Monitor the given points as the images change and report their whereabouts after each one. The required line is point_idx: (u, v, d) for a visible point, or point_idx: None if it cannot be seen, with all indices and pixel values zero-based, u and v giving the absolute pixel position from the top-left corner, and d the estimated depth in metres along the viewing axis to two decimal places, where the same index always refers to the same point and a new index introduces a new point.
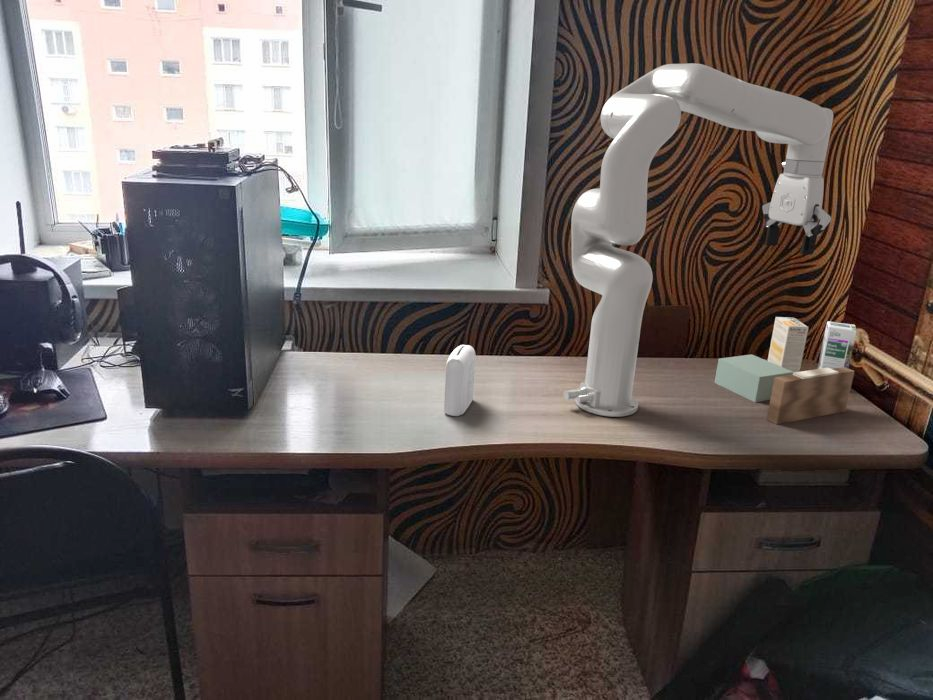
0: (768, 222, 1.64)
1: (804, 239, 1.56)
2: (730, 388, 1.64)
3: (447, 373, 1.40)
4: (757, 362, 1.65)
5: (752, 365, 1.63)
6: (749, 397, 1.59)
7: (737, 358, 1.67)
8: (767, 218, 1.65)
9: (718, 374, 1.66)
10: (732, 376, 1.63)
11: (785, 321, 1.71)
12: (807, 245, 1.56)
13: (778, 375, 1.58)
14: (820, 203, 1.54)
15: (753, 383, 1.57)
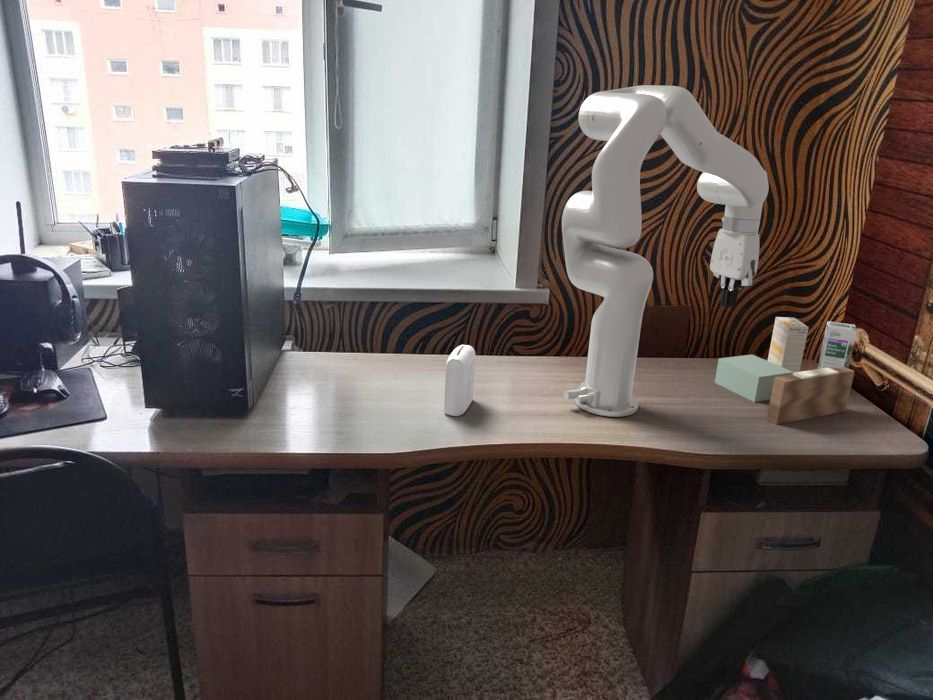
0: (721, 283, 1.68)
1: (726, 293, 1.67)
2: (730, 388, 1.64)
3: (447, 373, 1.40)
4: (757, 362, 1.65)
5: (752, 365, 1.63)
6: (749, 397, 1.59)
7: (738, 358, 1.67)
8: None
9: (718, 374, 1.66)
10: (732, 376, 1.63)
11: (785, 321, 1.71)
12: (729, 298, 1.67)
13: (778, 375, 1.58)
14: (757, 259, 1.62)
15: (753, 383, 1.57)
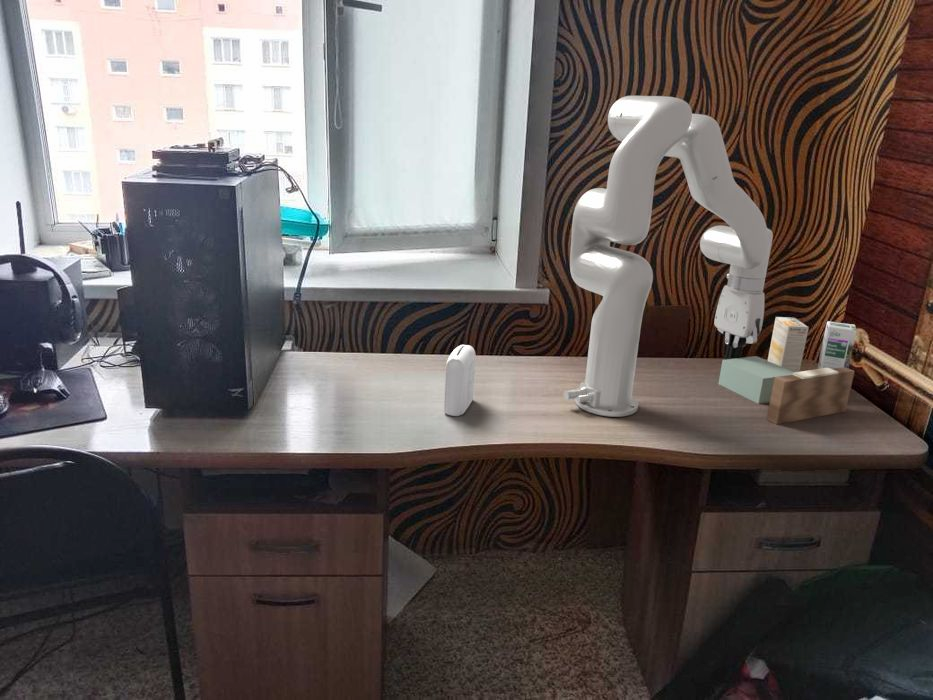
0: (726, 339, 1.68)
1: (731, 350, 1.67)
2: (734, 390, 1.63)
3: (447, 373, 1.40)
4: (762, 363, 1.64)
5: (756, 366, 1.62)
6: (752, 399, 1.58)
7: (741, 360, 1.66)
8: None
9: (722, 376, 1.66)
10: (735, 378, 1.62)
11: (785, 321, 1.71)
12: (734, 355, 1.67)
13: None
14: (761, 317, 1.62)
15: (757, 385, 1.57)
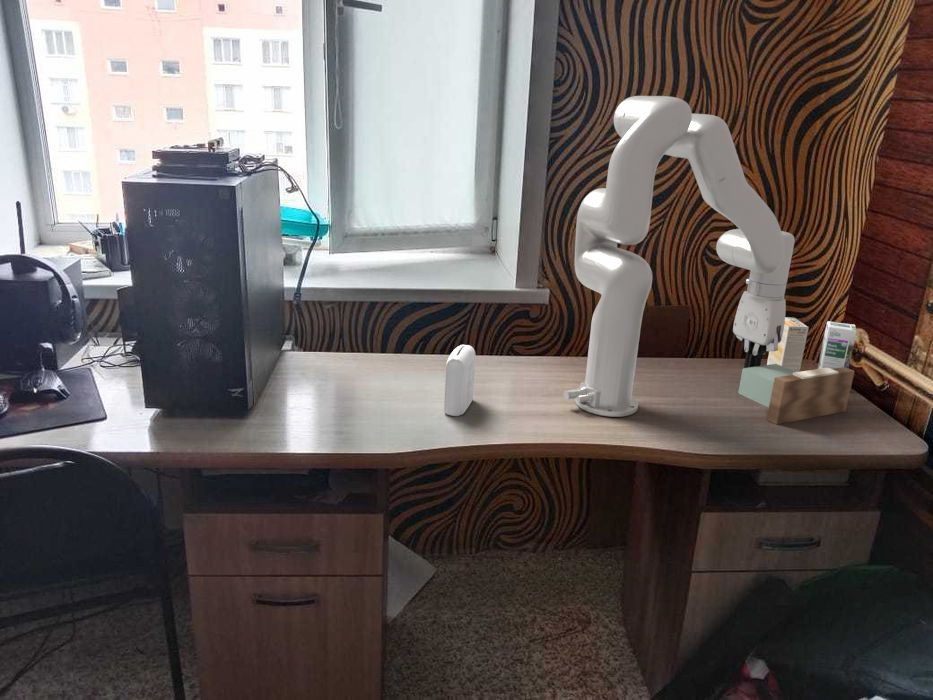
0: (745, 347, 1.63)
1: (750, 357, 1.62)
2: (755, 399, 1.58)
3: (447, 373, 1.40)
4: (783, 372, 1.60)
5: (777, 375, 1.57)
6: None
7: (762, 368, 1.61)
8: None
9: (742, 384, 1.61)
10: (757, 387, 1.57)
11: (785, 321, 1.71)
12: (753, 363, 1.63)
13: None
14: (783, 324, 1.57)
15: None
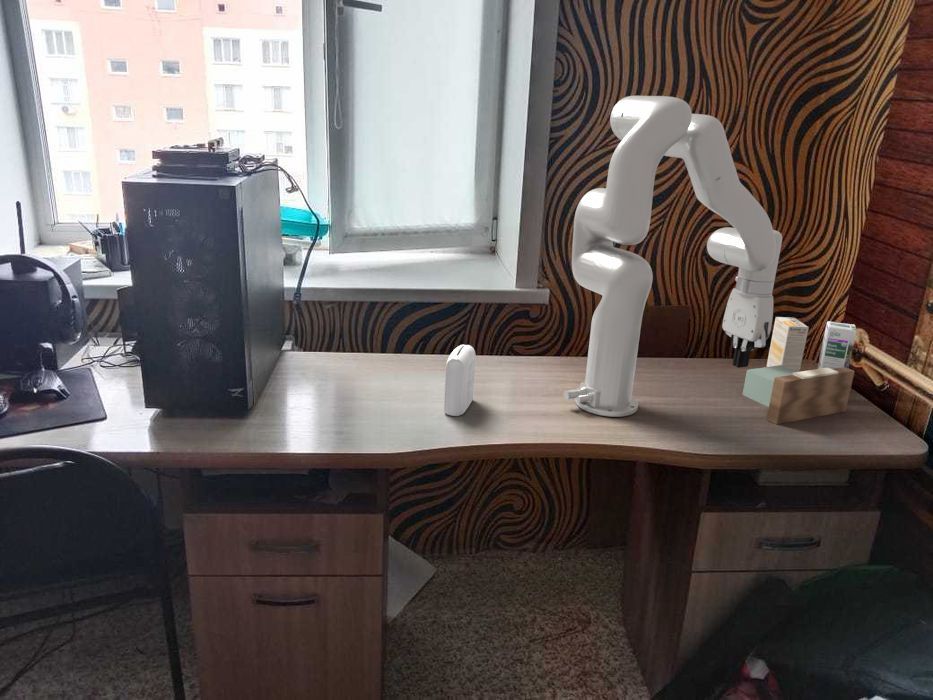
0: (734, 343, 1.66)
1: (739, 353, 1.65)
2: (759, 400, 1.57)
3: (447, 373, 1.40)
4: (787, 373, 1.59)
5: None
6: None
7: (766, 369, 1.60)
8: None
9: (746, 386, 1.60)
10: (761, 388, 1.56)
11: (785, 321, 1.71)
12: (742, 359, 1.65)
13: None
14: (770, 321, 1.60)
15: None
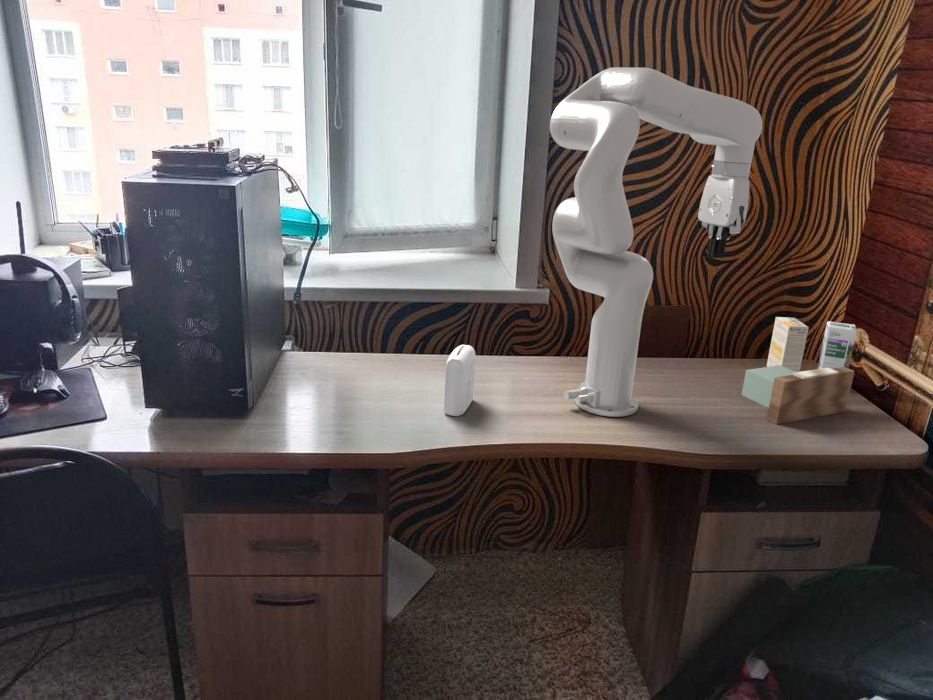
0: (709, 233, 1.62)
1: (714, 242, 1.60)
2: (758, 401, 1.57)
3: (447, 373, 1.40)
4: (786, 373, 1.59)
5: None
6: None
7: (765, 369, 1.60)
8: None
9: (746, 386, 1.60)
10: (760, 389, 1.56)
11: (785, 321, 1.71)
12: (717, 248, 1.61)
13: None
14: (746, 205, 1.55)
15: None
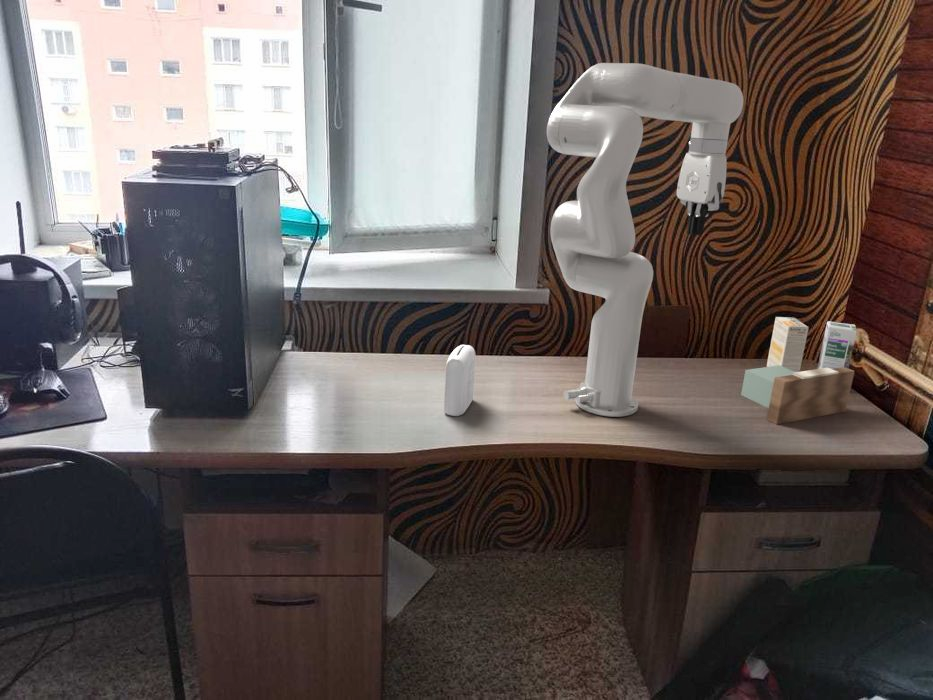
0: (688, 210, 1.63)
1: (693, 220, 1.61)
2: (758, 401, 1.57)
3: (447, 373, 1.40)
4: (786, 373, 1.59)
5: None
6: None
7: (765, 369, 1.60)
8: None
9: (745, 386, 1.60)
10: (760, 389, 1.56)
11: (785, 321, 1.71)
12: (696, 225, 1.62)
13: None
14: (723, 181, 1.56)
15: None
